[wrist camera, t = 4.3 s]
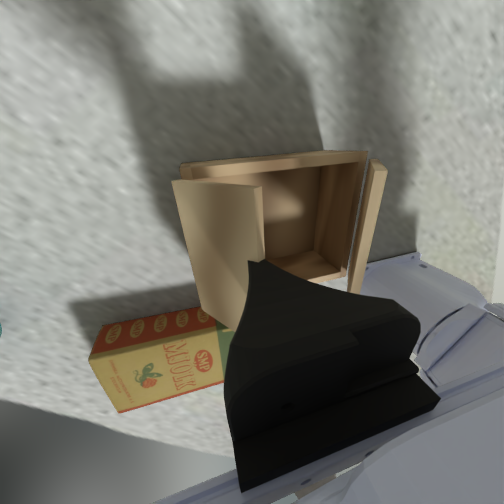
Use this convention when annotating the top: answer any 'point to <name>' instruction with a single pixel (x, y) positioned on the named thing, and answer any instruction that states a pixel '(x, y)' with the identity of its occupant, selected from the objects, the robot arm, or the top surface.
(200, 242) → the flap
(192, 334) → the carton
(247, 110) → the top surface
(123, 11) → the top surface
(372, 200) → the flap
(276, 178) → the cardboard box
